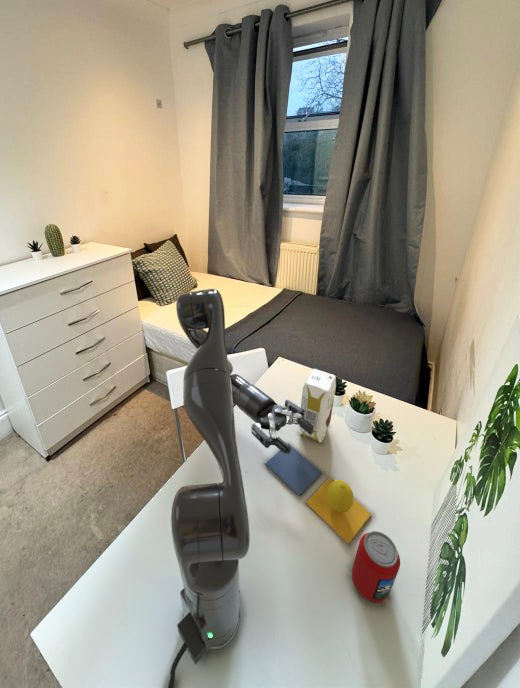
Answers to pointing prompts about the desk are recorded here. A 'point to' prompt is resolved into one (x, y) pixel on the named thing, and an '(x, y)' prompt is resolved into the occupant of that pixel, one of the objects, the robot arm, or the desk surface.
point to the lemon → (340, 496)
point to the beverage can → (375, 566)
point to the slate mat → (294, 470)
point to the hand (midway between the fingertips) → (301, 440)
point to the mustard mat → (339, 514)
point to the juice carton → (318, 402)
